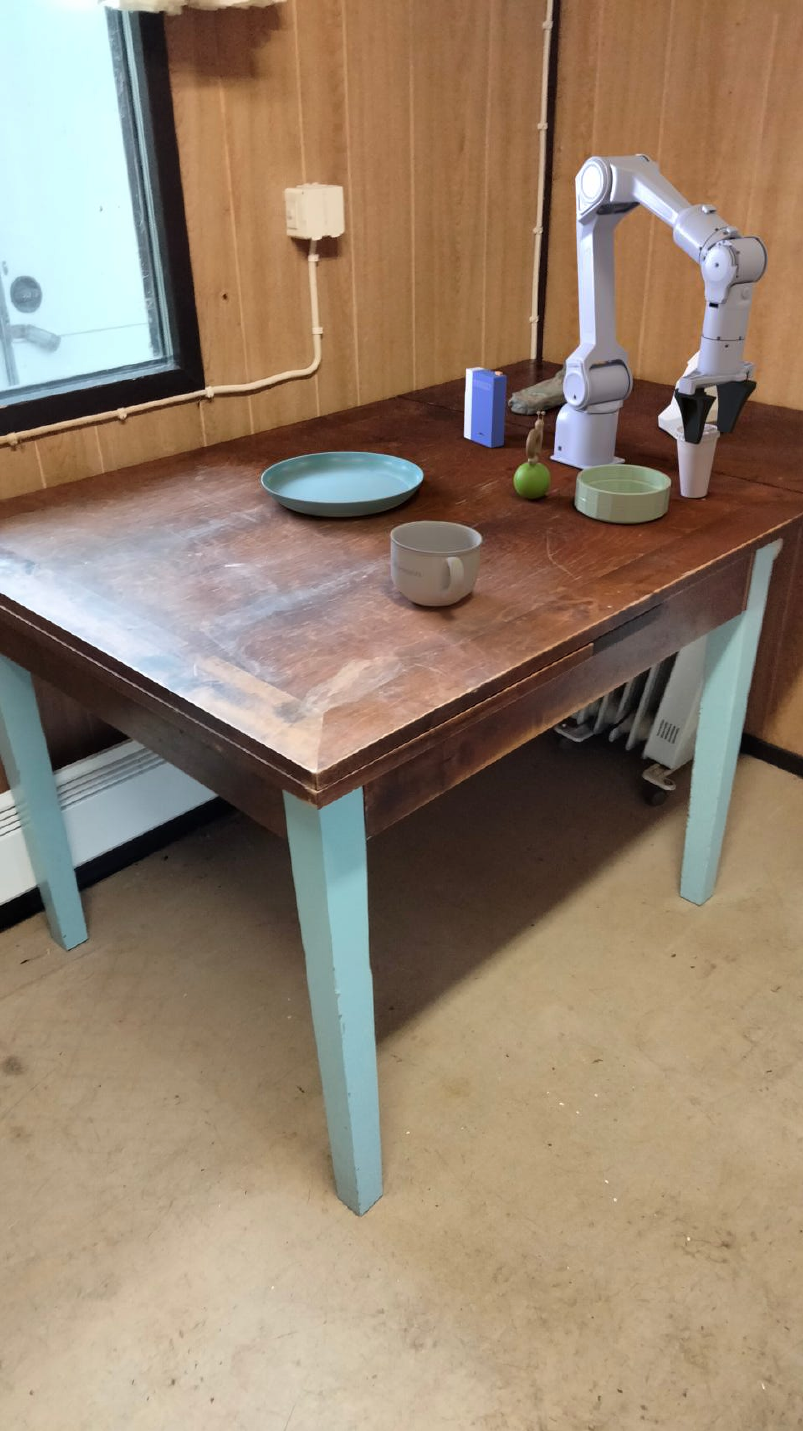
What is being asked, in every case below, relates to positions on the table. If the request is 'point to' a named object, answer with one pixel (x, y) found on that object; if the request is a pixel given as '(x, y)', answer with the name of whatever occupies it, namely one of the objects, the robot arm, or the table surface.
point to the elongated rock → (540, 395)
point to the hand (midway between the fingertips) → (708, 437)
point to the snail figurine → (533, 466)
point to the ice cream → (672, 413)
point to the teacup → (434, 561)
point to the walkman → (485, 406)
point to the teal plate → (342, 483)
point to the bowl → (622, 493)
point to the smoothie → (696, 461)
